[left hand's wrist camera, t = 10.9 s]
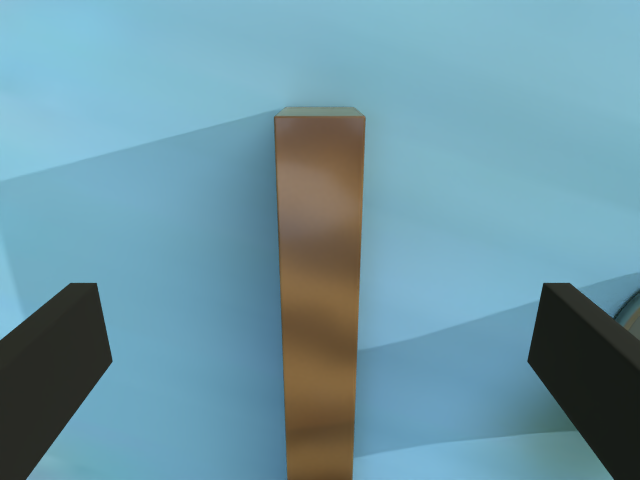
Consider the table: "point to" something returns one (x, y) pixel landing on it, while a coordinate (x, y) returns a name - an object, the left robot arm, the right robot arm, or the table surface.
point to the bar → (319, 283)
